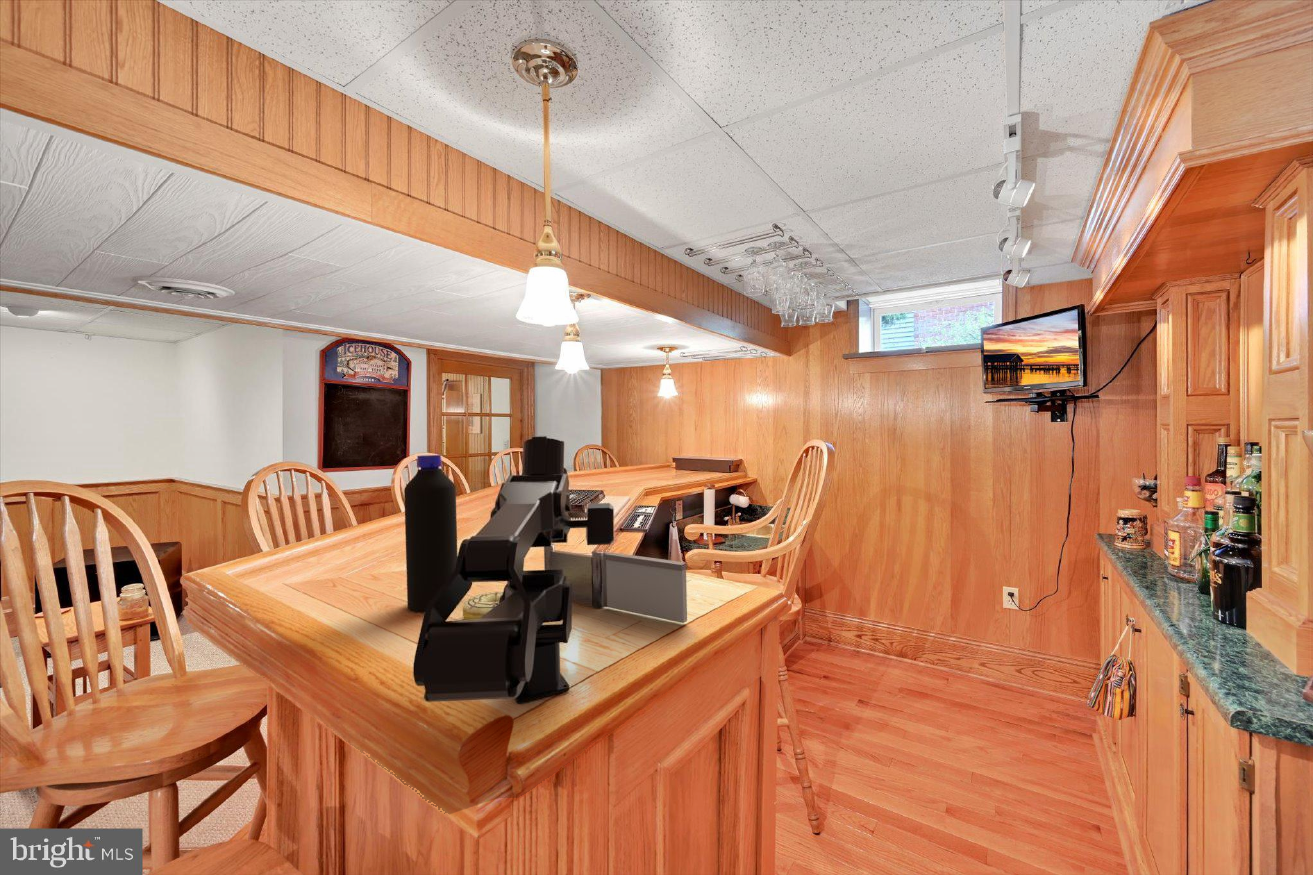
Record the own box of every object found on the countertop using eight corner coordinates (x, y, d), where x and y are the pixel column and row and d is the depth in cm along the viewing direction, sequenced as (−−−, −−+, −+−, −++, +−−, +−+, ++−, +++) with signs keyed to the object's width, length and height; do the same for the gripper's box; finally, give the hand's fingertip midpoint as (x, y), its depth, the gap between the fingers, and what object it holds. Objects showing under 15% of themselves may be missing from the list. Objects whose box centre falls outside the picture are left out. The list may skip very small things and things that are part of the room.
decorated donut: (526, 627, 86) (525, 604, 86) (457, 633, 84) (457, 609, 84) (529, 606, 96) (529, 585, 96) (468, 611, 94) (468, 590, 94)
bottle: (447, 612, 93) (442, 456, 92) (398, 613, 93) (393, 457, 93) (465, 596, 102) (462, 453, 101) (421, 597, 102) (417, 454, 101)
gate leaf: (601, 606, 93) (600, 553, 93) (607, 603, 94) (606, 551, 94) (682, 623, 84) (681, 564, 84) (687, 620, 85) (686, 562, 85)
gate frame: (542, 597, 100) (541, 545, 100) (550, 594, 102) (549, 543, 102) (599, 609, 93) (598, 553, 93) (606, 605, 95) (605, 551, 94)
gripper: (611, 460, 76) (615, 484, 91) (482, 464, 76) (507, 487, 90) (611, 537, 73) (615, 549, 88) (476, 541, 72) (503, 553, 87)
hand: (560, 532), depth 88 cm, fingers open, 9 cm apart
